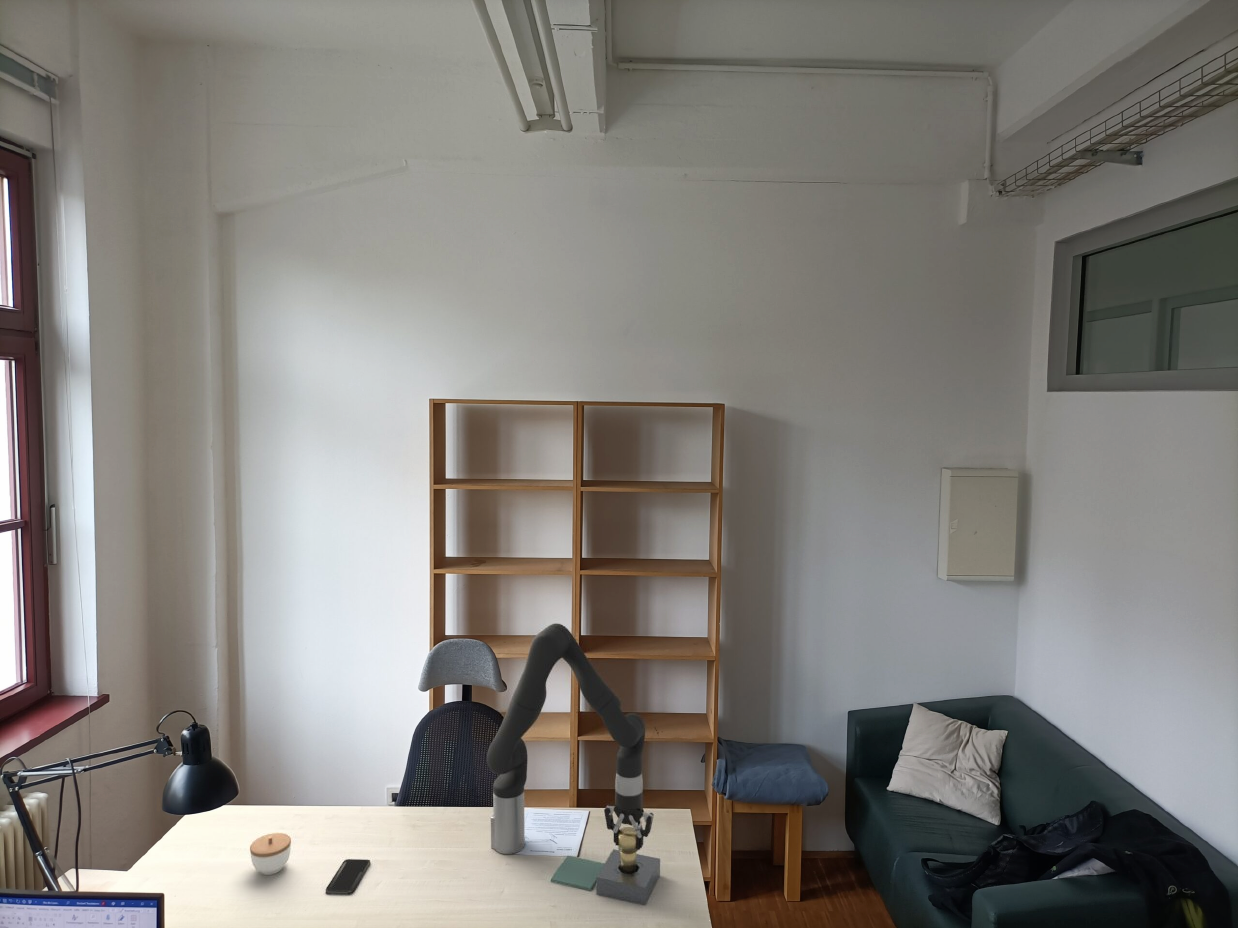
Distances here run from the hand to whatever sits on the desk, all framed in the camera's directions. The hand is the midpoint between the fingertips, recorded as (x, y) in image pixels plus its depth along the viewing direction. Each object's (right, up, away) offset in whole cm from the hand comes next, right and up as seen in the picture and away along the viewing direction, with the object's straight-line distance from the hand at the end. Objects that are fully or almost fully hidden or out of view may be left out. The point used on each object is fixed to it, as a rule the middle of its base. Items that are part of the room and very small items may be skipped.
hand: (628, 845), depth 220 cm
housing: (0, -11, +1) cm, 11 cm away
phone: (-79, -11, +4) cm, 80 cm away
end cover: (0, -6, +1) cm, 6 cm away
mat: (-14, -11, +6) cm, 19 cm away
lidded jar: (-102, -11, +8) cm, 103 cm away
